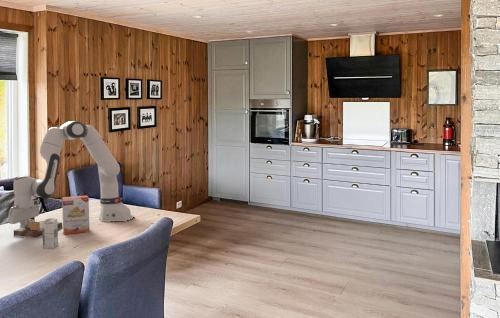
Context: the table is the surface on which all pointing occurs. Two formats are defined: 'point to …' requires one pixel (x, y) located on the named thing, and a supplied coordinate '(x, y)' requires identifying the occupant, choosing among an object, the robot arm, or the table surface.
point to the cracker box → (75, 214)
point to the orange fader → (34, 225)
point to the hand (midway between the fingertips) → (24, 227)
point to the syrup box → (50, 233)
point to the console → (32, 231)
